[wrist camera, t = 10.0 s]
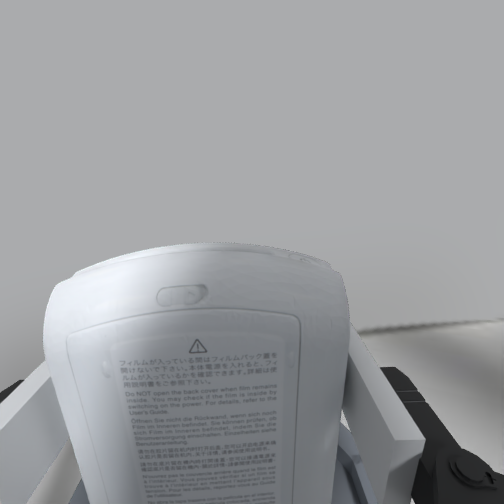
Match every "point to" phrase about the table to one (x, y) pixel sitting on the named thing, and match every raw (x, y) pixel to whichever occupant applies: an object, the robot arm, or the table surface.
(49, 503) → the table surface
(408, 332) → the table surface
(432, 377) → the table surface
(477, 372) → the table surface
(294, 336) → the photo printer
